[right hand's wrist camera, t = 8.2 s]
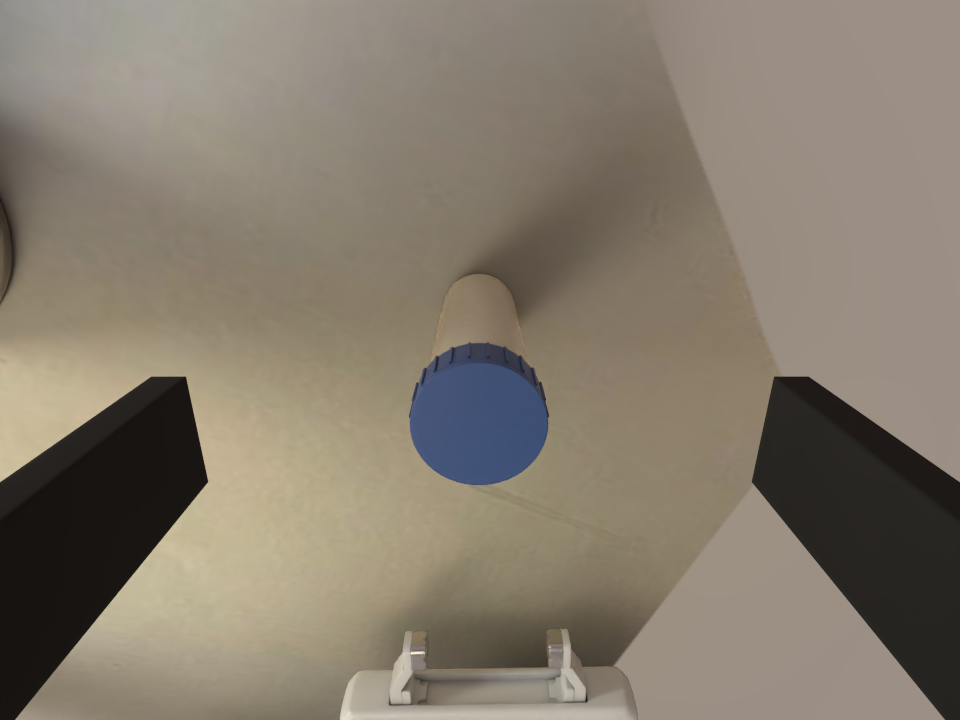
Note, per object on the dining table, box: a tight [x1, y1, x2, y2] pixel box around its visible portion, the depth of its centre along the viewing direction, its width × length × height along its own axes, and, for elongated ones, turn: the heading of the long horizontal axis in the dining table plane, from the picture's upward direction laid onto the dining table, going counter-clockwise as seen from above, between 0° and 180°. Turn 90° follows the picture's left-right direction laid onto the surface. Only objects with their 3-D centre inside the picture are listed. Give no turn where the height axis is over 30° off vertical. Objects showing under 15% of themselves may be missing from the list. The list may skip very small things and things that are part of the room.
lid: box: [409, 342, 549, 485], centre depth 21 cm, size 5×5×2 cm
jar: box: [430, 274, 528, 363], centre depth 28 cm, size 5×5×15 cm
